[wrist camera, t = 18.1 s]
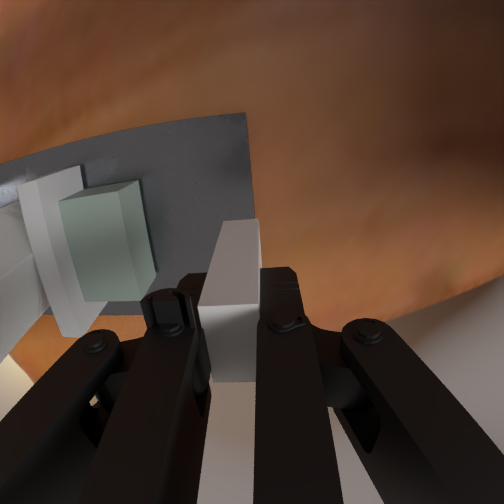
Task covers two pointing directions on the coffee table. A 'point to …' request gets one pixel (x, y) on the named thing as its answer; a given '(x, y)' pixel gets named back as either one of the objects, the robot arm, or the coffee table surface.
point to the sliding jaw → (86, 245)
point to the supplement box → (17, 280)
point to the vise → (161, 186)
